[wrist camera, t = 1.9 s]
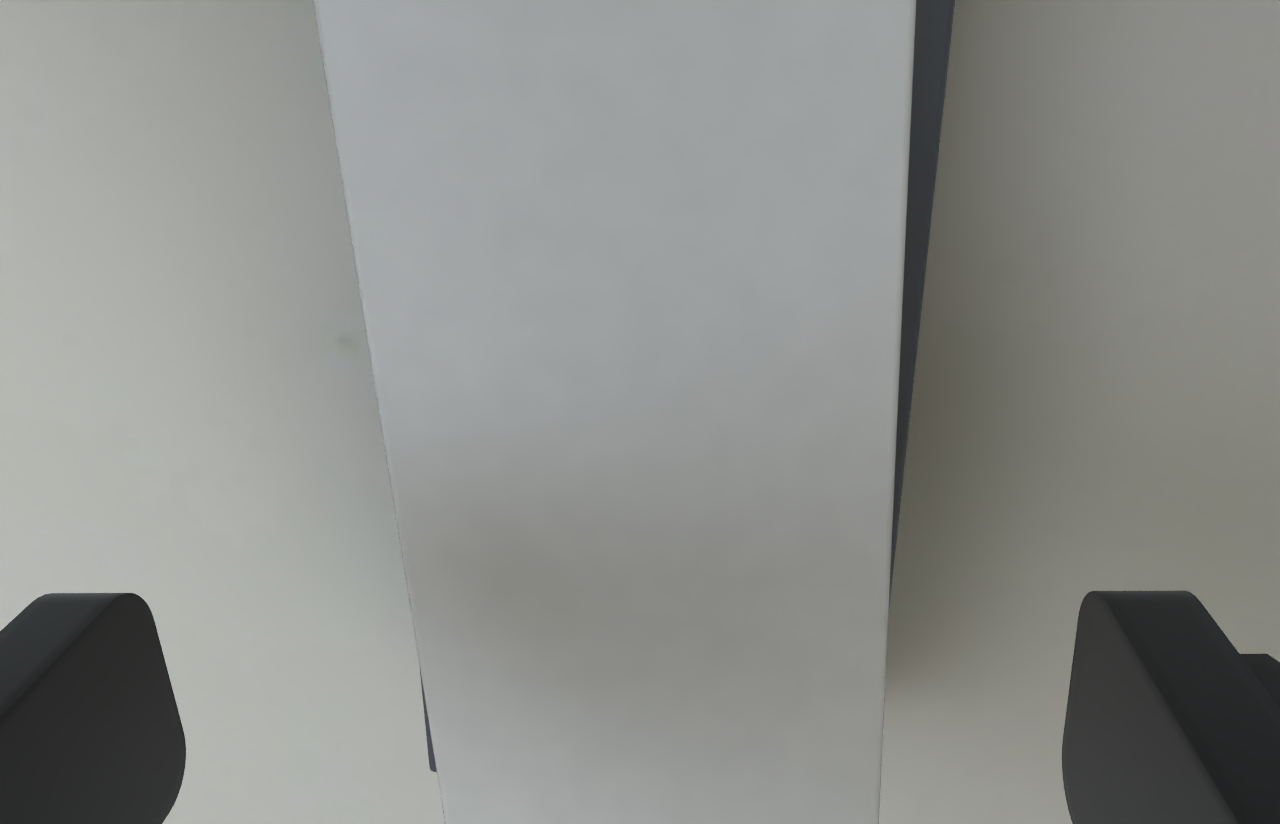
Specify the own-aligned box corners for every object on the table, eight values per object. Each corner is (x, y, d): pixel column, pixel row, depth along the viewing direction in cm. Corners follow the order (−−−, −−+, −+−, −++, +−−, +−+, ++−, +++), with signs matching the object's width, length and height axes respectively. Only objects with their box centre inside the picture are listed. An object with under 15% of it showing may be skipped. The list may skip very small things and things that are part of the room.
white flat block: (360, -69, 12) (298, -73, 10) (891, -102, 12) (922, -111, 10) (478, 758, 17) (447, 856, 15) (860, 761, 16) (878, 863, 15)
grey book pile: (362, -114, 15) (280, -129, 12) (924, -151, 14) (972, -175, 11) (471, 676, 20) (431, 791, 17) (886, 676, 19) (913, 795, 17)
